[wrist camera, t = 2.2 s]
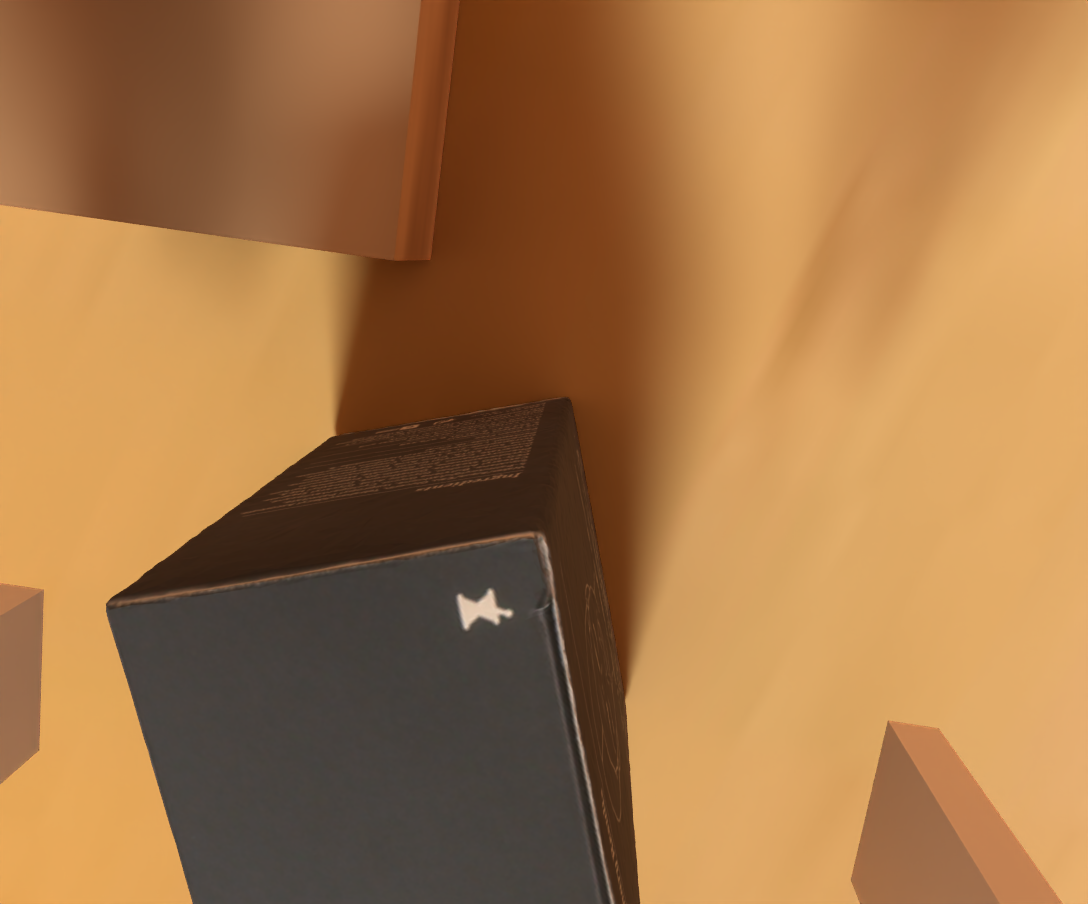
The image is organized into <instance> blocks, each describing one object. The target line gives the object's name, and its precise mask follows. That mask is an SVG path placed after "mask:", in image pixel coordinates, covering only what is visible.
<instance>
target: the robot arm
mask: <svg viewBox="0 0 1088 904" xmlns="http://www.w3.org/2000/svg"><path fill="white" fill-rule="evenodd" d="M43 596H44V590H42V589H35V588H29V587H22V586H16V585H9V584H3V583H0V784H1V783H2V782H3V781H4V780H6V779H7V778H8V777H9V776H10V775H11V774H12V773H14V772H15V771H16V770H17V769H18V768H19V767H20V766H21V765H23V764H24V763H25V762H26V761H27V760H28V759H29V758H31V757H32V756H33V755H34V754H35V753H36V752H37V751H38V750H39V736H40V701H41V666H42V631H43ZM851 882H852V884H853V887H854V889H855V892H856V894H857V897H858V899H859V902H860V904H1063V903H1062V902H1061V901H1060V899H1059V898H1058V896H1057V895H1056V894H1055V892H1054V891H1053V889H1052V888H1051V887H1050V885H1049V884H1048V882H1047V881H1046V879H1045V878H1044V877H1043V875H1042V874H1041V872H1040V871H1039V870H1038V868H1037V867H1036V865H1035V864H1034V862H1033V861H1032V860H1031V858H1030V857H1029V855H1028V854H1027V853H1026V851H1025V850H1024V848H1023V847H1022V845H1021V844H1020V843H1019V841H1018V840H1017V838H1016V837H1015V836H1014V834H1013V833H1012V831H1011V830H1010V829H1009V827H1008V826H1007V824H1006V823H1005V821H1004V820H1003V819H1002V817H1001V816H1000V814H999V813H998V812H997V810H996V809H995V807H994V806H993V804H992V803H991V802H990V800H989V799H988V797H987V796H986V795H985V793H984V792H983V790H982V789H981V787H980V786H979V785H978V783H977V782H976V780H975V779H974V778H973V776H972V775H971V773H970V772H969V771H968V769H967V768H966V766H965V765H964V763H963V762H962V761H961V759H960V758H959V756H958V755H957V754H956V752H955V751H954V749H953V748H952V746H951V745H950V744H949V742H948V741H947V739H946V738H945V737H944V735H943V734H942V732H941V731H940V729H939V728H932V727H926V726H919V725H913V724H906V723H900V722H893V721H888V723H887V727H886V732H885V736H884V740H883V745H882V749H881V753H880V757H879V762H878V766H877V770H876V775H875V779H874V783H873V787H872V792H871V796H870V800H869V805H868V809H867V813H866V817H865V822H864V826H863V830H862V834H861V839H860V843H859V847H858V852H857V856H856V860H855V864H854V869H853V873H852V877H851Z"/></svg>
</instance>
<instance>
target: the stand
mask: <svg viewBox="0 0 1088 904" xmlns="http://www.w3.org/2000/svg"><path fill="white" fill-rule="evenodd" d="M459 2H460V0H0V205H5V206H12V207H19V208H26V209H34V210H41V211H48V212H55V213H62V214H69V215H76V216H83V217H90V218H97V219H104V220H111V221H118V222H125V223H132V224H139V225H146V226H153V227H160V228H167V229H174V230H181V231H189V232H196V233H203V234H210V235H217V236H224V237H231V238H238V239H245V240H252V241H259V242H266V243H273V244H280V245H287V246H294V247H301V248H308V249H315V250H322V251H329V252H336V253H343V254H351V255H358V256H365V257H372V258H379V259H386V260H393V261H404V260H431V253H432V244H433V235H434V226H435V217H436V208H437V199H438V190H439V181H440V172H441V163H442V154H443V146H444V137H445V128H446V119H447V110H448V101H449V92H450V83H451V74H452V65H453V56H454V47H455V38H456V29H457V20H458V11H459Z"/></svg>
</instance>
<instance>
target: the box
mask: <svg viewBox="0 0 1088 904" xmlns="http://www.w3.org/2000/svg"><path fill="white" fill-rule="evenodd" d="M106 612H107V617H108V620H109V623H110V627H111V630H112V633H113V636H114V639H115V643H116V646H117V649H118V652H119V656H120V659H121V662H122V665H123V669H124V672H125V675H126V678H127V682H128V685H129V688H130V691H131V695H132V698H133V701H134V705H135V708H136V712H137V715H138V719H139V722H140V726H141V729H142V733H143V736H144V740H145V743H146V745H147V748H148V751H149V755H150V759H151V763H152V766H153V770H154V773H155V776H156V780H157V783H158V786H159V790H160V793H161V796H162V800H163V803H164V807H165V810H166V814H167V817H168V820H169V824H170V827H171V830H172V833H173V836H174V839H175V842H176V845H177V849H178V853H179V856H180V860H181V863H182V867H183V871H184V874H185V878H186V881H187V885H188V888H189V891H190V895H191V898H192V902H193V904H640V898H639V887H638V873H637V858H636V848H635V833H634V824H633V808H632V794H631V778H630V764H629V749H628V733H627V714H626V705H625V697H624V690H623V684H622V678H621V673H620V666H619V660H618V654H617V648H616V642H615V637H614V631H613V627H612V621H611V614H610V609H609V604H608V598H607V593H606V587H605V582H604V576H603V571H602V565H601V560H600V555H599V549H598V543H597V537H596V531H595V525H594V521H593V516H592V510H591V504H590V499H589V494H588V489H587V484H586V478H585V472H584V467H583V462H582V456H581V451H580V445H579V439H578V434H577V429H576V423H575V418H574V413H573V408H572V403H571V400H570V399H569V398H567V397H561V398H554V399H548V400H543V401H537V402H531V403H525V404H519V405H512V406H506V407H500V408H493V409H490V410H480V411H476V412H472V413H467V414H463V415H457V416H450V417H444V418H437V419H430V420H425V421H420V422H414V423H408V424H403V425H397V426H391V427H385V428H379V429H373V430H367V431H361V432H355V433H345V434H342V435H339V436H334V437H331V438H329V439H328V440H327V441H326V442H324V443H322V444H321V445H320V446H319V447H317V448H316V449H314V450H313V451H312V452H310V453H309V454H307V455H306V456H305V457H303V458H302V459H300V460H299V461H298V462H297V463H295V464H294V465H292V466H290V467H289V468H288V469H286V470H285V471H284V472H283V473H282V474H280V475H278V476H277V477H276V478H275V479H274V480H272V481H270V482H269V483H268V484H266V485H265V486H264V487H262V488H261V489H260V490H259V491H257V492H256V493H255V494H254V495H252V496H251V497H250V498H248V499H246V500H245V501H243V502H242V503H241V504H239V505H238V506H237V507H235V508H234V509H232V510H231V511H229V512H228V513H227V514H225V515H224V516H223V517H222V518H221V519H219V520H218V521H217V522H215V523H214V524H212V525H210V526H208V527H207V528H206V529H204V530H203V531H202V532H201V533H200V534H198V535H197V536H195V537H194V538H192V539H190V540H189V541H188V542H187V543H185V544H184V545H183V546H182V547H181V548H179V549H178V550H177V551H175V552H174V553H173V554H172V555H170V556H169V557H168V558H166V559H165V560H163V561H161V562H159V563H158V564H157V565H155V566H154V567H153V568H152V569H150V570H149V571H147V572H146V573H145V574H144V575H143V576H142V577H141V578H140V579H139V580H138V581H136V582H134V583H133V584H132V585H130V586H129V587H127V588H126V589H124V590H123V591H121V592H120V593H118V594H116V595H115V596H113V597H112V598H111V599H110V600H109V601H108V602H107V604H106Z"/></svg>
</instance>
